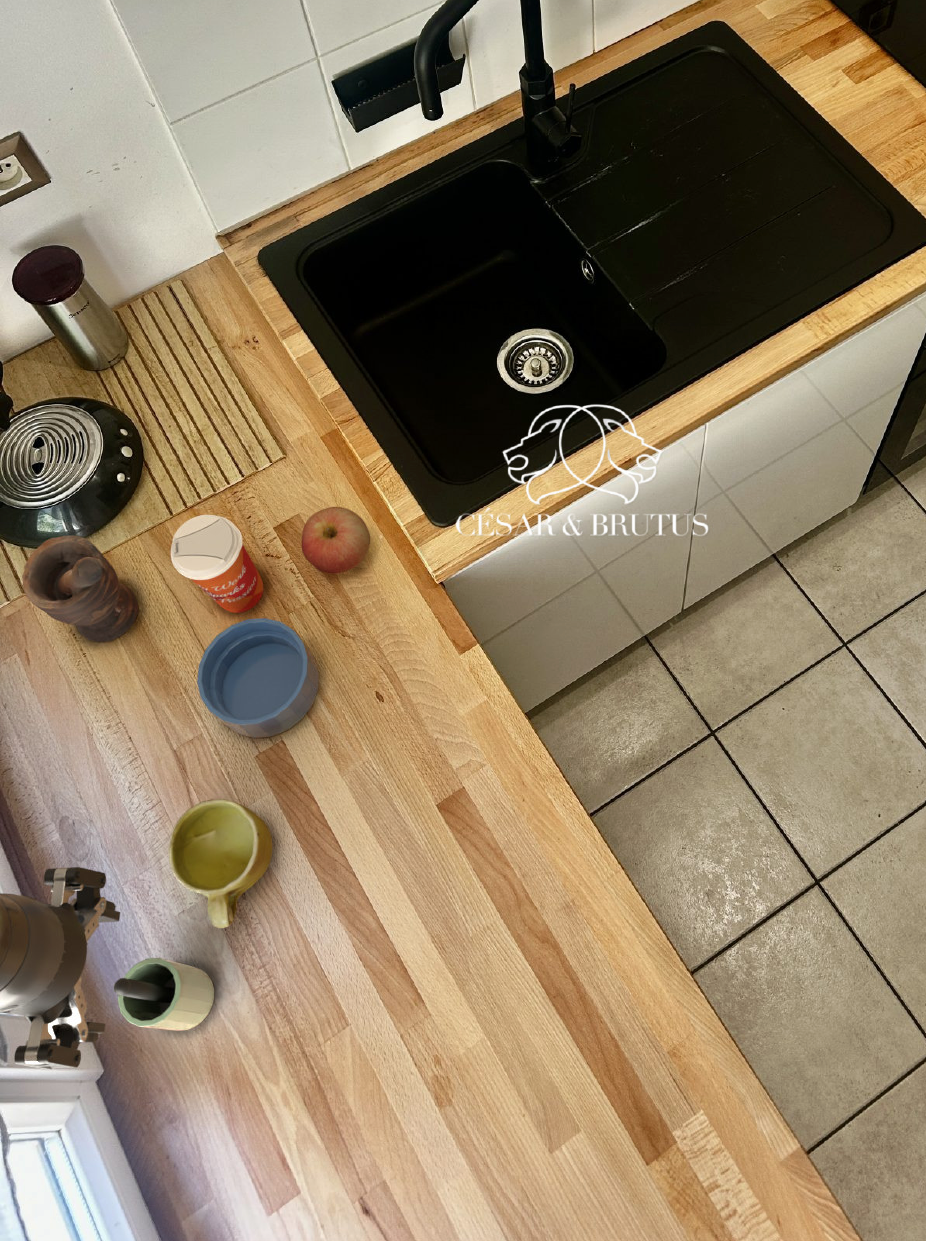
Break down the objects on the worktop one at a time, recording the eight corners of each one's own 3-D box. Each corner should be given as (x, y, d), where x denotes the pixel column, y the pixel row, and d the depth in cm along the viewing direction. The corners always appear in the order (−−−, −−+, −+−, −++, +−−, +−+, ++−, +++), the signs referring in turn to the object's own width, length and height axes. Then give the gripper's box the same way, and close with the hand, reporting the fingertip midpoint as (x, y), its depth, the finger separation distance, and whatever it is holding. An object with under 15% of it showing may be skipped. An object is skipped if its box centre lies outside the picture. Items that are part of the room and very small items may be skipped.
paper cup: (209, 627, 135) (167, 581, 122) (206, 568, 138) (165, 518, 126) (276, 614, 135) (241, 566, 123) (271, 555, 139) (236, 504, 126)
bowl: (210, 742, 128) (192, 727, 123) (219, 640, 134) (203, 622, 129) (317, 735, 128) (304, 720, 123) (322, 633, 134) (309, 614, 129)
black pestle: (163, 1019, 114) (95, 1010, 100) (167, 979, 116) (101, 965, 102) (199, 1016, 114) (137, 1007, 100) (203, 977, 116) (142, 962, 102)
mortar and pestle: (177, 581, 138) (111, 508, 120) (162, 650, 133) (91, 585, 116) (82, 579, 138) (2, 506, 120) (64, 648, 134) (-21, 583, 116)
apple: (373, 583, 137) (359, 556, 130) (306, 585, 137) (289, 558, 130) (378, 522, 140) (365, 492, 133) (313, 524, 140) (296, 494, 133)
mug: (179, 796, 124) (174, 796, 114) (277, 801, 126) (280, 801, 117) (161, 918, 120) (155, 928, 111) (263, 920, 123) (264, 931, 113)
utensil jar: (153, 1032, 115) (114, 1028, 106) (160, 969, 117) (122, 960, 108) (211, 1028, 114) (177, 1024, 106) (217, 965, 117) (183, 956, 108)
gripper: (-23, 852, 85) (70, 885, 99) (-66, 1069, 78) (41, 1071, 93) (78, 847, 85) (157, 880, 99) (44, 1064, 78) (134, 1066, 93)
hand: (101, 972), depth 96 cm, fingers open, 8 cm apart
